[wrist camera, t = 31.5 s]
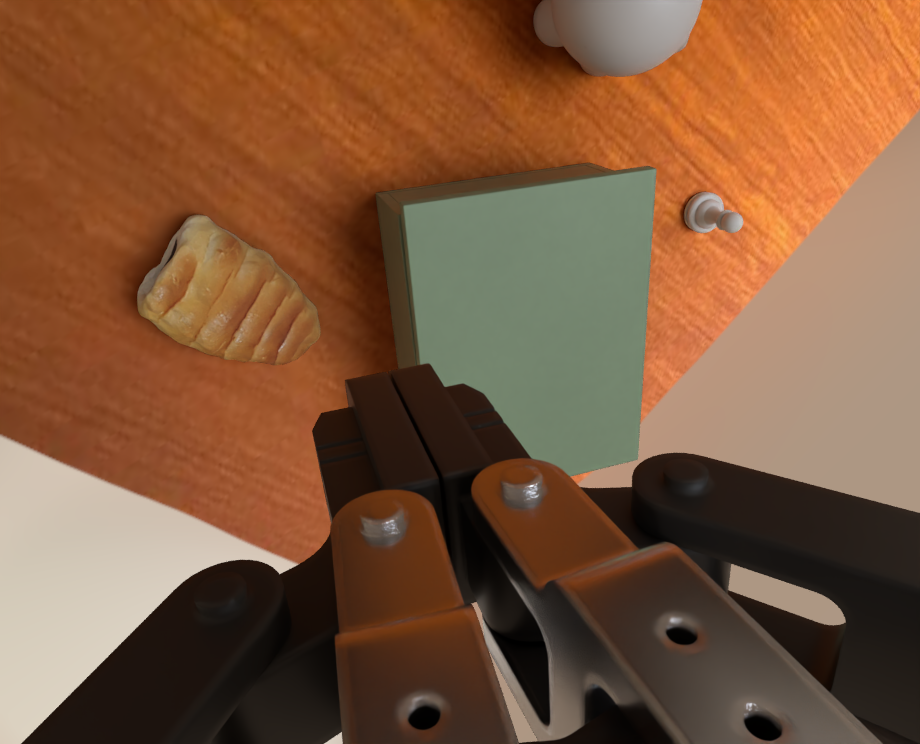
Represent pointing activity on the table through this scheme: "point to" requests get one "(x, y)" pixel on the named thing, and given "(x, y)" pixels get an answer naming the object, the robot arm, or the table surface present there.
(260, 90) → the table surface
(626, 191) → the box lid
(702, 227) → the pawn
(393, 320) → the chess box
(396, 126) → the table surface
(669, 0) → the toy rhinoceros
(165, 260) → the pastry
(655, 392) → the table surface
